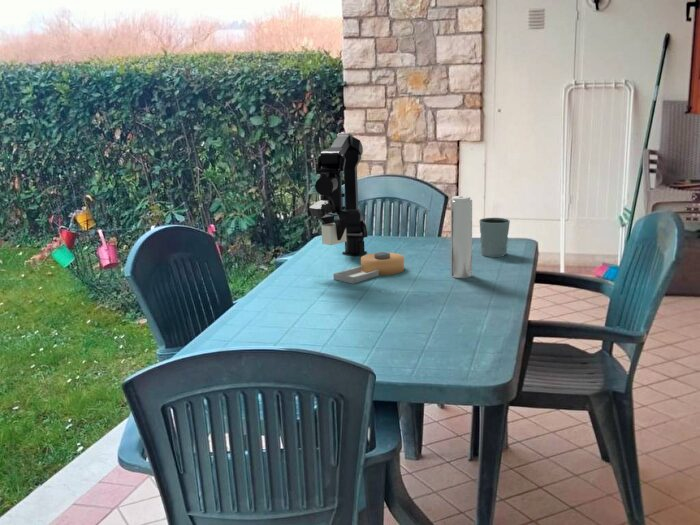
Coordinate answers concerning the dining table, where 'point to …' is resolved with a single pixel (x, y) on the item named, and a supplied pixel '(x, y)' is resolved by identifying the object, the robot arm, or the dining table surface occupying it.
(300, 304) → the dining table surface
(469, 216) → the white tall cylinder
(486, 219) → the grey plant pot
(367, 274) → the orange and grey base
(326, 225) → the cream rectangular block
